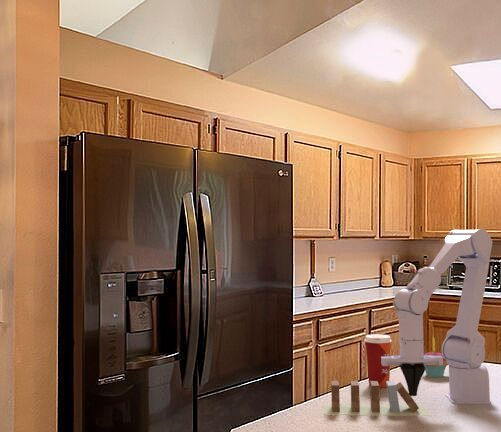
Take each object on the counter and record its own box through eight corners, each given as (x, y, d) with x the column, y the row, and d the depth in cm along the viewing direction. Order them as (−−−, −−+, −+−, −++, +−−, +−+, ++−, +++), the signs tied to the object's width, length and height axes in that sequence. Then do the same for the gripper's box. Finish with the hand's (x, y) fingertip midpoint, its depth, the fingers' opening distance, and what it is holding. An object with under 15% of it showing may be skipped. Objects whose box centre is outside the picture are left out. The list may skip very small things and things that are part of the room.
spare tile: (397, 406, 150) (393, 380, 151) (399, 411, 146) (395, 384, 146) (389, 407, 151) (386, 381, 151) (392, 412, 146) (388, 385, 146)
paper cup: (393, 389, 169) (392, 338, 169) (365, 388, 170) (363, 338, 171) (392, 382, 176) (391, 333, 177) (365, 381, 178) (364, 333, 178)
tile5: (339, 406, 152) (338, 380, 152) (339, 411, 147) (339, 385, 148) (331, 406, 152) (331, 380, 152) (332, 411, 148) (331, 385, 148)
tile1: (415, 403, 150) (400, 381, 150) (419, 408, 146) (402, 386, 146) (409, 407, 150) (394, 386, 151) (413, 412, 146) (396, 390, 146)
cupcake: (418, 372, 188) (417, 333, 189) (447, 372, 187) (446, 333, 187) (422, 379, 180) (421, 338, 180) (452, 379, 179) (451, 338, 179)
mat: (424, 406, 152) (424, 404, 152) (431, 417, 143) (431, 415, 143) (323, 405, 154) (323, 404, 154) (324, 415, 146) (324, 414, 146)
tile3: (378, 407, 151) (377, 381, 151) (380, 412, 146) (379, 385, 147) (370, 407, 151) (370, 381, 151) (372, 412, 147) (371, 385, 147)
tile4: (358, 406, 151) (357, 381, 152) (359, 412, 147) (359, 385, 147) (351, 406, 152) (350, 380, 152) (352, 412, 147) (351, 385, 147)
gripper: (436, 335, 152) (438, 390, 152) (378, 336, 152) (379, 391, 152) (444, 340, 145) (446, 397, 145) (383, 341, 145) (385, 398, 145)
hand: (412, 395), depth 148 cm, fingers closed
